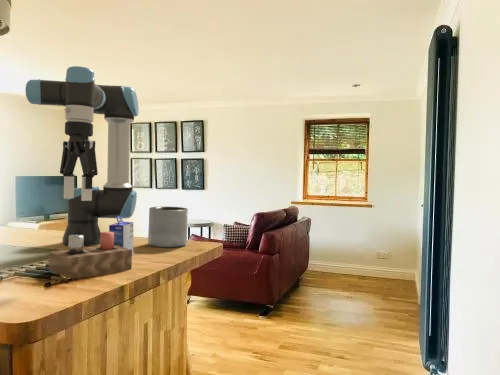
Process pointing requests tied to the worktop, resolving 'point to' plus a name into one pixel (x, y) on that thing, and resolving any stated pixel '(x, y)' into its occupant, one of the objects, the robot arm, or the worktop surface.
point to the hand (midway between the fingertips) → (77, 199)
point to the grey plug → (76, 244)
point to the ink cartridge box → (122, 234)
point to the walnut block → (90, 261)
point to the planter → (167, 227)
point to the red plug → (106, 241)
